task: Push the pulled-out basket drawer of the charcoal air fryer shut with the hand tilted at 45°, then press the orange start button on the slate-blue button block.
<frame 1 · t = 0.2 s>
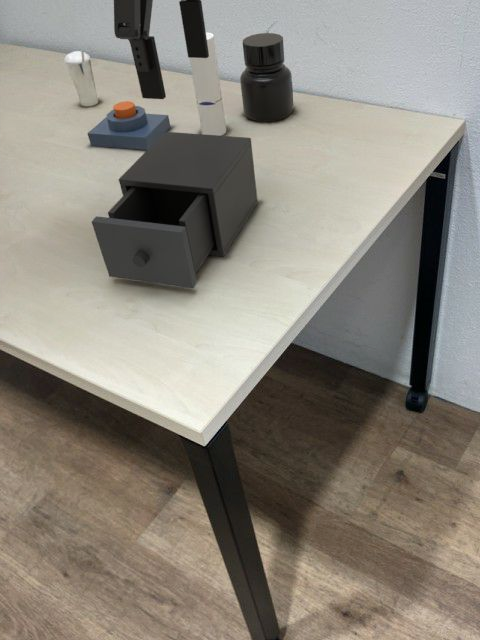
hand: (177, 76, 76), 17 cm above the table, tool pointing down, fingers open, 13 cm apart
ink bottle: (268, 113, 109), on the table
button block: (131, 136, 106), on the table
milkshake: (91, 104, 118), on the table
tube: (214, 132, 105), on the table
start button: (125, 110, 103), point 4 cm above the table, slide at 0.1 cm
basket: (163, 229, 75), point 5 cm above the table, slide at 7.0 cm
air fryer: (199, 223, 84), on the table
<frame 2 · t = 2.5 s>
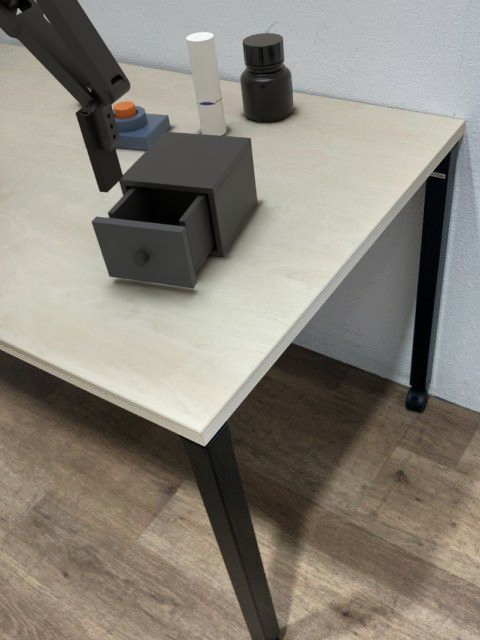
hand: (44, 177, 53), 20 cm above the table, tool pointing down, fingers open, 13 cm apart
nothing on the table moved.
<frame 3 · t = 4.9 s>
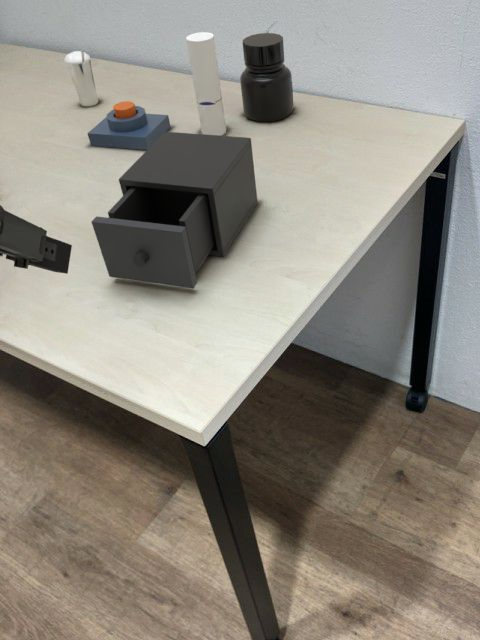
hand: (62, 258, 57), 13 cm above the table, tool tilted 45°, fingers closed
nothing on the table moved.
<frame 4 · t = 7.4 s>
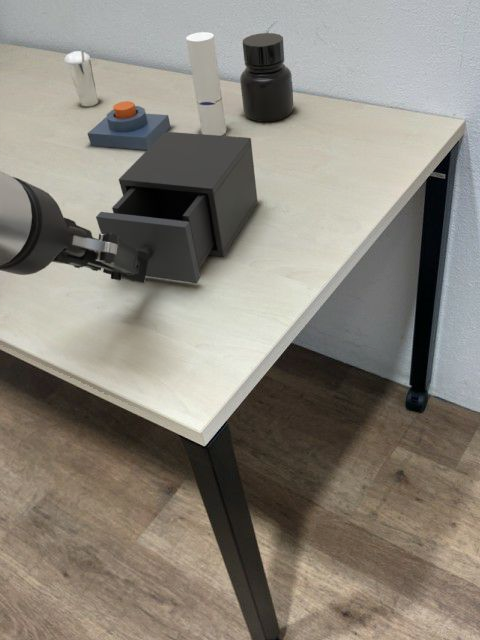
hand: (140, 270, 71), 4 cm above the table, tool tilted 45°, fingers closed
basket: (167, 225, 76), point 5 cm above the table, slide at 5.9 cm, touching gripper
everything else where it was.
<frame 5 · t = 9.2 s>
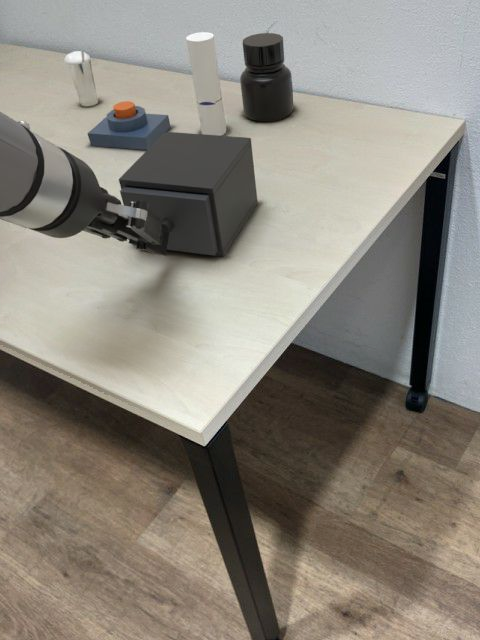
hand: (161, 243, 75), 4 cm above the table, tool tilted 45°, fingers closed
basket: (186, 201, 79), point 5 cm above the table, slide at 0.0 cm, touching gripper
everything else where it was.
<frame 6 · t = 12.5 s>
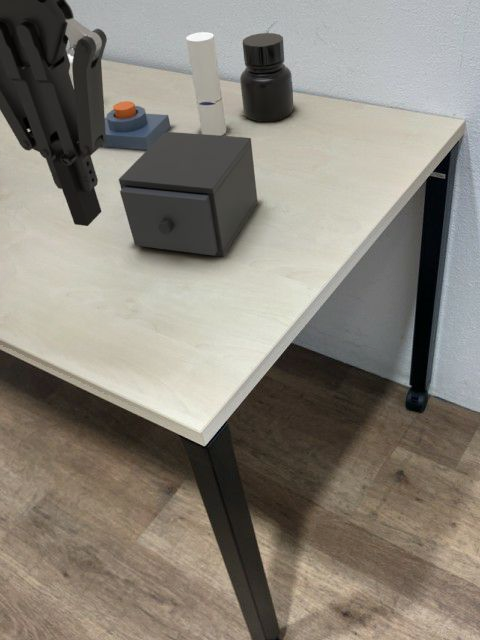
hand: (88, 217, 60), 14 cm above the table, tool pointing down, fingers closed
basket: (186, 201, 79), point 5 cm above the table, slide at 0.0 cm
everything else where it was.
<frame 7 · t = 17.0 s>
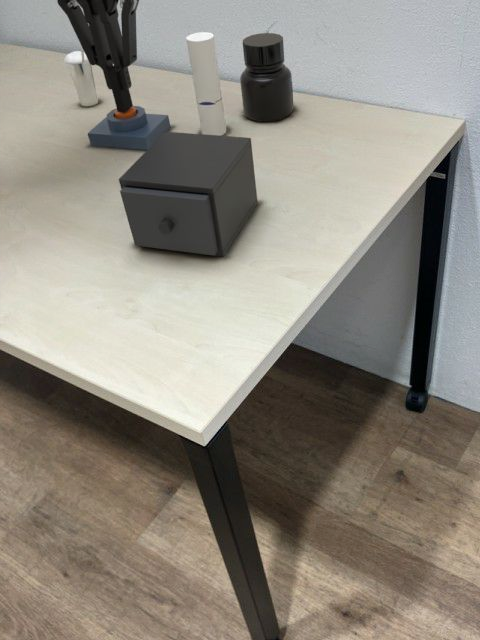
hand: (125, 108, 103), 5 cm above the table, tool pointing down, fingers closed
start button: (126, 115, 103), point 4 cm above the table, slide at -0.7 cm, touching gripper
everything else where it was.
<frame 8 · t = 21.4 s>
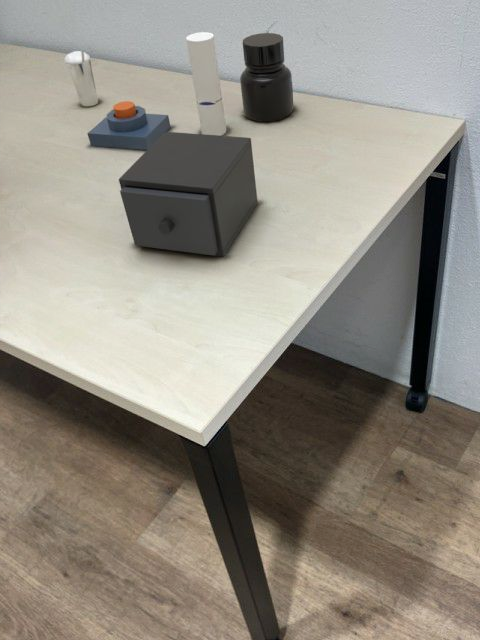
start button: (125, 110, 103), point 4 cm above the table, slide at 0.1 cm
everything else where it was.
at the end: basket slide at 0.0 cm; start button pushed in 1.0 cm at the most during the clip, back to where it started at the end; start button slide at 0.1 cm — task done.
